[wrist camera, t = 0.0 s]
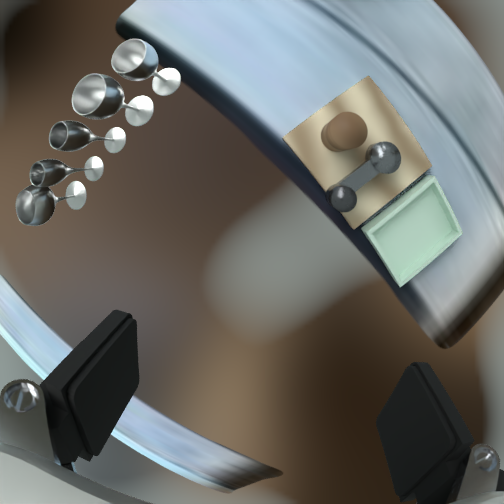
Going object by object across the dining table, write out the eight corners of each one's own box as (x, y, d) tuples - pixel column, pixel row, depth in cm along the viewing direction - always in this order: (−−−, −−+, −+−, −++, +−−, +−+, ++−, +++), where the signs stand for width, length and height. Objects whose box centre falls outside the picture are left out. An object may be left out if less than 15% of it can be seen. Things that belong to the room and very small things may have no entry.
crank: (381, 137, 33) (400, 132, 27) (398, 162, 33) (419, 162, 27) (315, 188, 35) (323, 192, 29) (333, 213, 36) (345, 222, 30)
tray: (426, 175, 35) (434, 175, 32) (454, 229, 37) (462, 233, 34) (360, 228, 38) (365, 232, 36) (394, 280, 40) (400, 287, 37)
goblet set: (166, 59, 33) (124, 24, 21) (191, 81, 34) (154, 47, 21) (59, 196, 40) (3, 210, 28) (77, 220, 41) (22, 240, 28)
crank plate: (365, 78, 32) (368, 75, 31) (427, 165, 34) (432, 165, 33) (282, 138, 36) (282, 137, 34) (351, 227, 38) (353, 229, 37)
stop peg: (337, 115, 33) (351, 104, 26) (357, 140, 33) (374, 134, 27) (314, 133, 34) (323, 125, 27) (334, 158, 34) (347, 156, 28)
